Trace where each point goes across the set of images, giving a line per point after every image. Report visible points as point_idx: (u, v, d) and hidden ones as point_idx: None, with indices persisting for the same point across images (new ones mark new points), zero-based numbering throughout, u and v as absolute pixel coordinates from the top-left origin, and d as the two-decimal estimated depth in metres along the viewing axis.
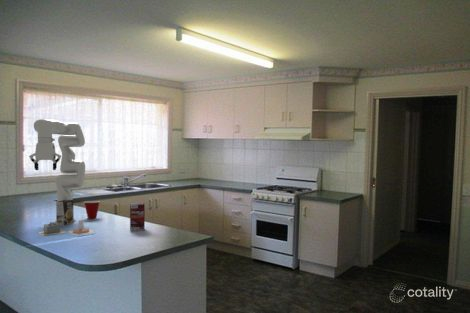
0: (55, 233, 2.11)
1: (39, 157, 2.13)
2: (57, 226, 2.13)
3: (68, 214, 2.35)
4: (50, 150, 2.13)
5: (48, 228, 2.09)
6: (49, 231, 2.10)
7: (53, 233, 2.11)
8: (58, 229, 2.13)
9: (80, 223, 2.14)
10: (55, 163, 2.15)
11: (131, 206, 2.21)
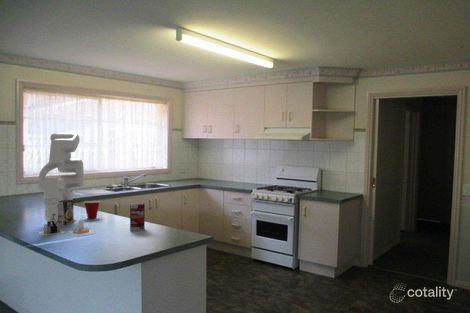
0: (55, 233, 2.11)
1: None
2: (57, 226, 2.13)
3: (68, 214, 2.35)
4: None
5: (48, 228, 2.09)
6: (49, 231, 2.10)
7: (53, 233, 2.11)
8: (58, 229, 2.13)
9: (80, 223, 2.14)
10: None
11: (131, 206, 2.21)
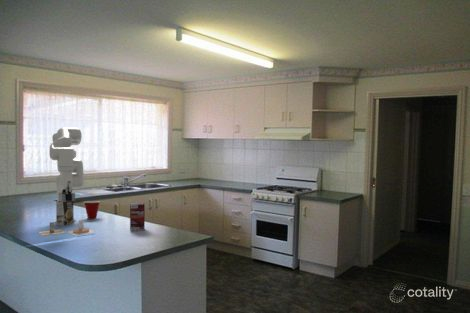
0: (55, 233, 2.11)
1: None
2: (72, 194, 2.12)
3: (68, 214, 2.35)
4: None
5: (63, 196, 2.09)
6: (64, 199, 2.10)
7: (53, 233, 2.11)
8: (73, 197, 2.13)
9: (80, 223, 2.14)
10: None
11: (131, 206, 2.21)
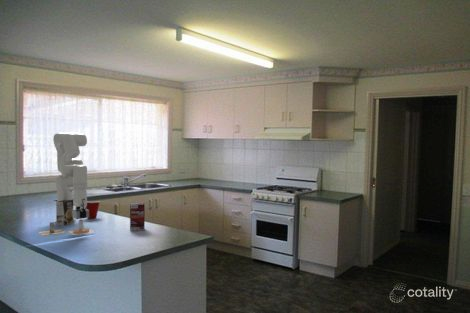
0: (55, 233, 2.11)
1: None
2: (86, 211, 2.13)
3: (68, 214, 2.35)
4: None
5: (77, 213, 2.10)
6: (79, 216, 2.11)
7: (53, 233, 2.11)
8: (87, 214, 2.14)
9: (80, 223, 2.14)
10: None
11: (131, 206, 2.21)
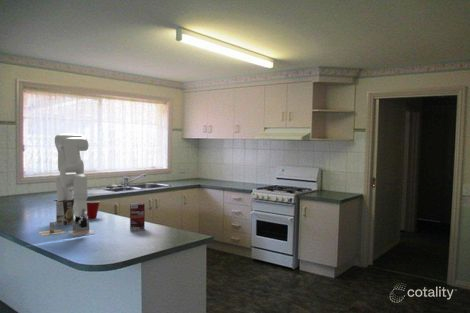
0: (55, 233, 2.11)
1: None
2: None
3: (68, 214, 2.35)
4: None
5: (78, 226, 2.10)
6: (79, 228, 2.11)
7: (53, 233, 2.11)
8: (87, 227, 2.14)
9: None
10: None
11: (131, 206, 2.21)
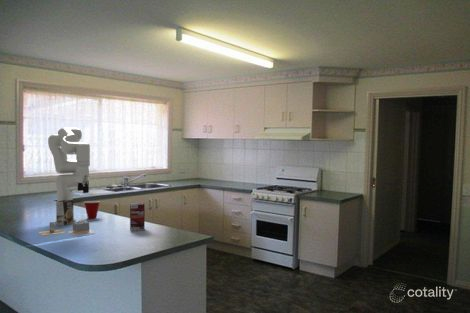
0: (55, 233, 2.11)
1: None
2: (86, 224, 2.14)
3: (68, 214, 2.35)
4: None
5: (78, 226, 2.10)
6: (79, 228, 2.11)
7: (53, 233, 2.11)
8: (87, 227, 2.14)
9: None
10: None
11: (131, 206, 2.21)
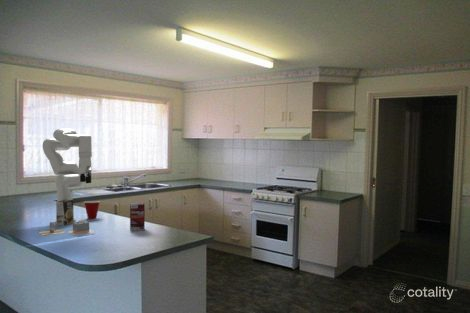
0: (55, 233, 2.11)
1: None
2: (86, 224, 2.14)
3: (68, 214, 2.35)
4: None
5: (78, 226, 2.10)
6: (79, 228, 2.11)
7: (53, 233, 2.11)
8: (87, 227, 2.14)
9: None
10: None
11: (131, 206, 2.21)
